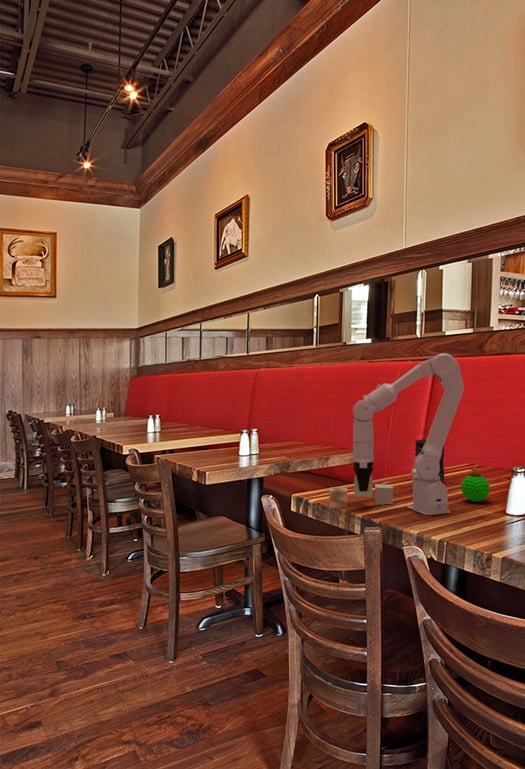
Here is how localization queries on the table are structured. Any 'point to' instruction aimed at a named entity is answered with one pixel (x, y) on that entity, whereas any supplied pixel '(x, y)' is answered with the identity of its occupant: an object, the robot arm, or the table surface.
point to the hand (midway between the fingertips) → (363, 489)
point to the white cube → (383, 494)
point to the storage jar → (418, 450)
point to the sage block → (362, 493)
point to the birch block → (338, 498)
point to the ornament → (475, 487)
